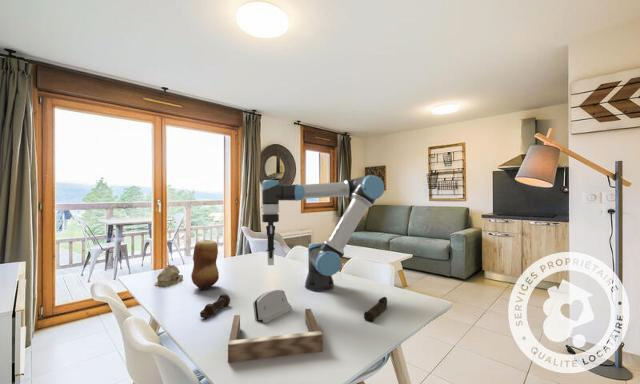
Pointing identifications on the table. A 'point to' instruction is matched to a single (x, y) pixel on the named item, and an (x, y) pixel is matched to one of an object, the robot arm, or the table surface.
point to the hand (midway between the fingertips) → (270, 264)
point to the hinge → (271, 305)
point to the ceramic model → (169, 276)
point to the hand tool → (376, 310)
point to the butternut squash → (205, 264)
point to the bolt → (215, 306)
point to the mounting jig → (275, 342)
